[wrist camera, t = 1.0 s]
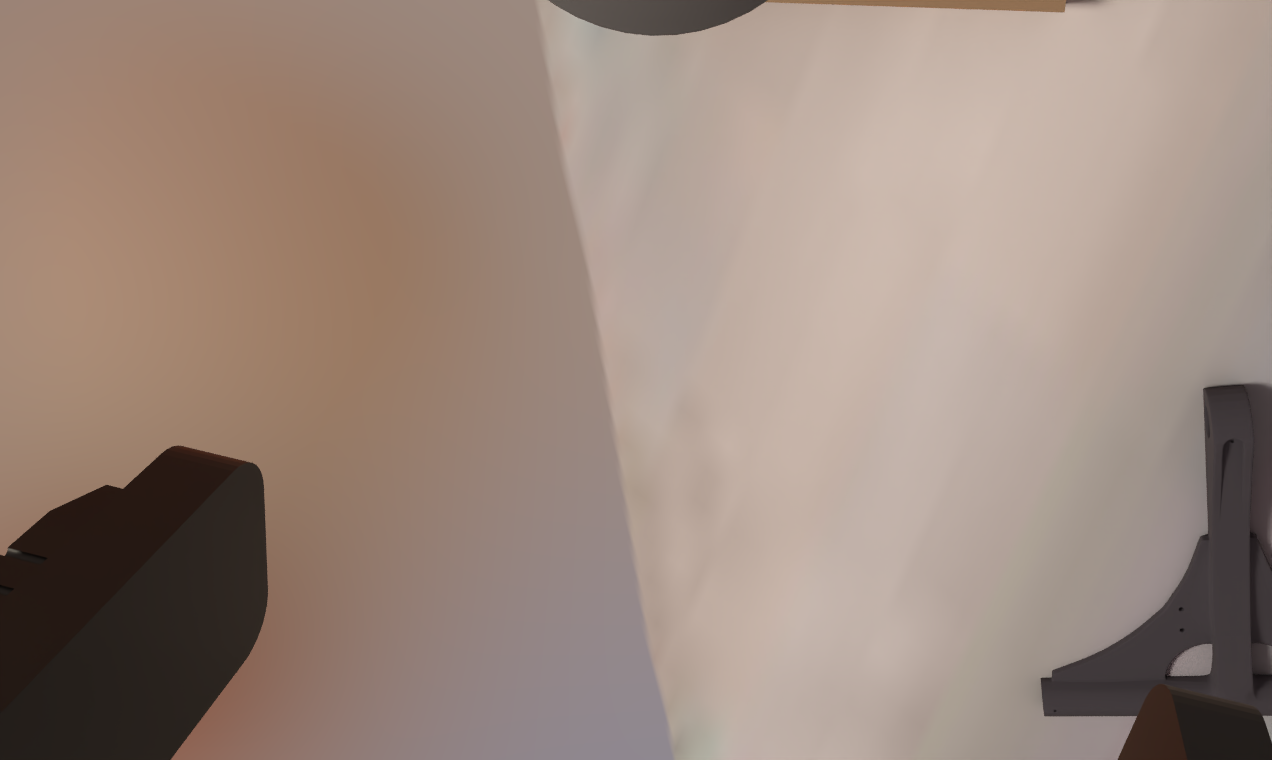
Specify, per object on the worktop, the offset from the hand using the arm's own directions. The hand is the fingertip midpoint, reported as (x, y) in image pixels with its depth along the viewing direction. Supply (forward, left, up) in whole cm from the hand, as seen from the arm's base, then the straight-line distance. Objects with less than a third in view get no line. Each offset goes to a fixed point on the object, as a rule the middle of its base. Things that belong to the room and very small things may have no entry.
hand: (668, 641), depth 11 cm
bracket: (-14, +21, -34) cm, 42 cm away
